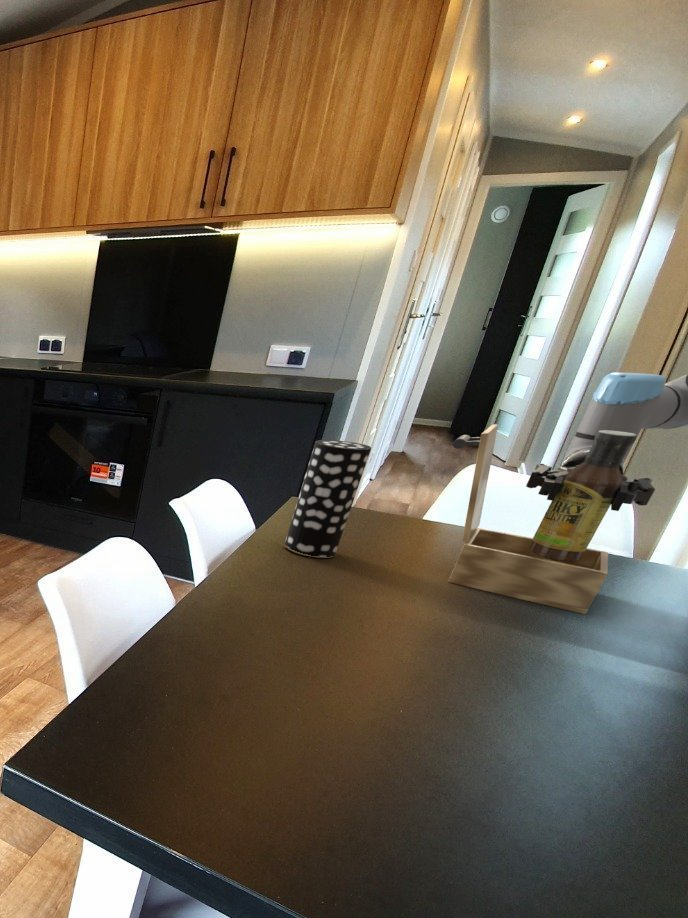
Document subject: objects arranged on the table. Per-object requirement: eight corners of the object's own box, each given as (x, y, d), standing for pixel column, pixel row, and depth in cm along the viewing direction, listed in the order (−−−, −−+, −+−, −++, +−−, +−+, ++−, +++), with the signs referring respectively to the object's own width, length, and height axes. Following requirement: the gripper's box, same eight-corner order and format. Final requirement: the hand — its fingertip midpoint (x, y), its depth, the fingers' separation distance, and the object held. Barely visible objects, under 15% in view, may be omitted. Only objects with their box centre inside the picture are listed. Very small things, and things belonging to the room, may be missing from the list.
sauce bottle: (516, 549, 105) (572, 427, 96) (553, 550, 105) (613, 428, 96) (552, 564, 99) (616, 435, 91) (592, 564, 99) (660, 436, 91)
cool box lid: (498, 424, 107) (463, 425, 110) (488, 433, 98) (451, 434, 102) (479, 525, 112) (446, 523, 115) (468, 541, 104) (433, 539, 107)
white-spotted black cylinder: (344, 559, 116) (383, 450, 108) (299, 558, 116) (334, 448, 108) (317, 544, 124) (351, 440, 115) (274, 543, 124) (305, 439, 115)
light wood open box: (587, 590, 105) (608, 552, 102) (585, 614, 96) (607, 573, 93) (460, 562, 116) (475, 527, 113) (447, 582, 107) (464, 544, 104)
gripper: (660, 506, 104) (668, 536, 89) (506, 483, 116) (490, 506, 102) (686, 461, 101) (698, 484, 86) (524, 441, 113) (511, 459, 99)
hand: (586, 496), depth 94 cm, fingers closed on sauce bottle, 6 cm apart
